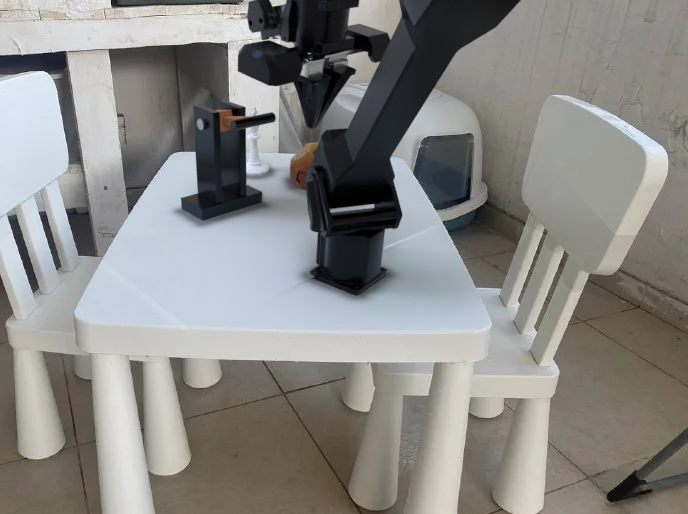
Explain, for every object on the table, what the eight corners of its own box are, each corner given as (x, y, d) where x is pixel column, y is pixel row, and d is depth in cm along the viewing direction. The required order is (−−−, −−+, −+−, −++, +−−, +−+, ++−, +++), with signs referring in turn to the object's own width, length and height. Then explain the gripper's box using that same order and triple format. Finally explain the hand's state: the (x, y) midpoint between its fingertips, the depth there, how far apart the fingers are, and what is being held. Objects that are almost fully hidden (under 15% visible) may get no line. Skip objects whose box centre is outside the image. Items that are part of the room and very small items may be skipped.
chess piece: (233, 174, 95) (231, 109, 90) (246, 164, 99) (245, 101, 94) (262, 179, 94) (262, 113, 88) (274, 169, 97) (275, 105, 92)
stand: (262, 205, 85) (262, 104, 78) (202, 223, 79) (197, 116, 72) (240, 194, 88) (238, 96, 81) (181, 211, 82) (174, 108, 75)
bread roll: (352, 199, 97) (356, 148, 96) (354, 195, 87) (358, 137, 86) (290, 195, 98) (293, 144, 97) (285, 190, 87) (288, 134, 86)
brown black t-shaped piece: (276, 127, 74) (274, 106, 73) (237, 136, 71) (234, 114, 70) (233, 126, 80) (230, 107, 80) (195, 134, 77) (192, 114, 76)
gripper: (332, -39, 72) (319, 92, 82) (205, -27, 62) (207, 121, 72) (405, -20, 66) (382, 119, 76) (277, -3, 56) (268, 155, 65)
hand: (311, 127), depth 72 cm, fingers closed
